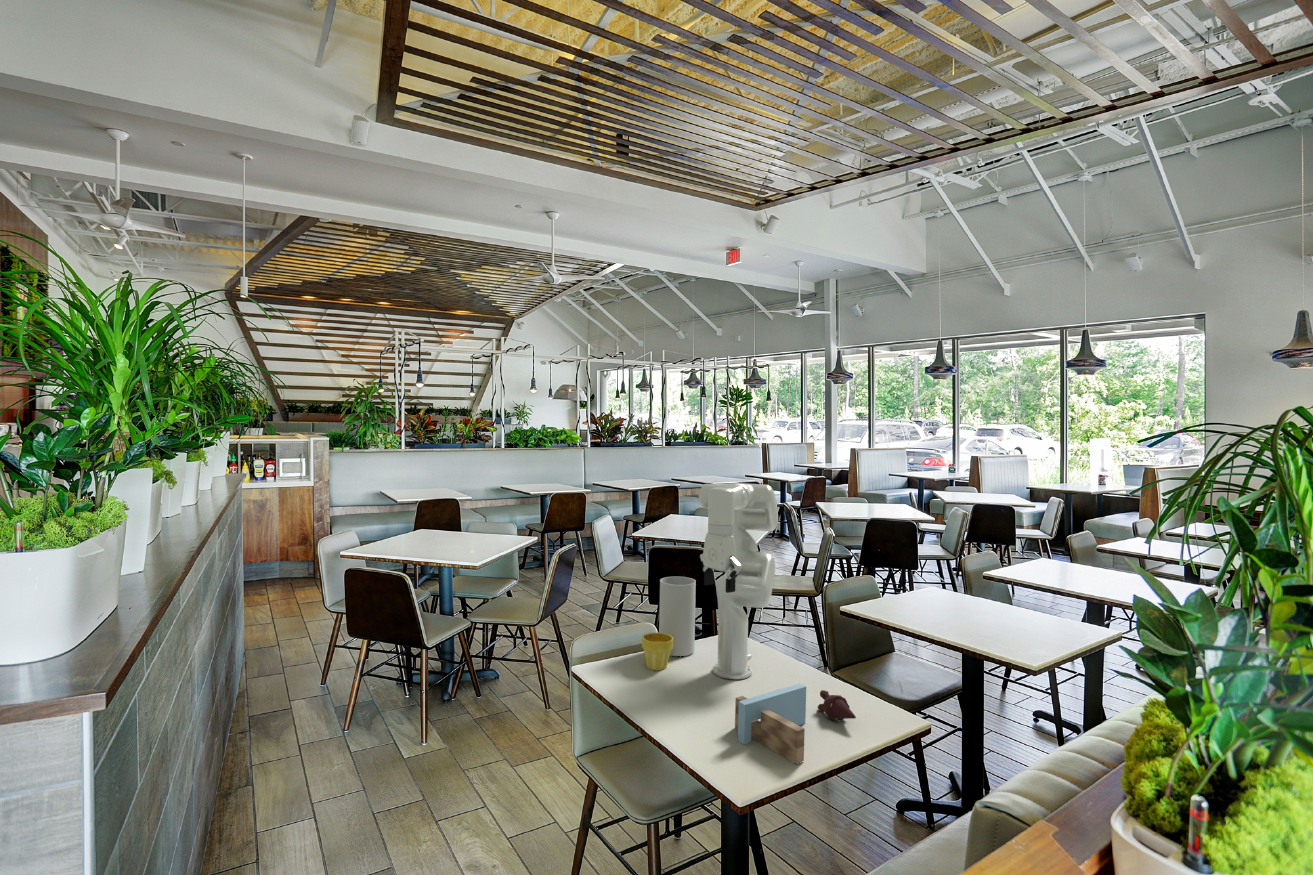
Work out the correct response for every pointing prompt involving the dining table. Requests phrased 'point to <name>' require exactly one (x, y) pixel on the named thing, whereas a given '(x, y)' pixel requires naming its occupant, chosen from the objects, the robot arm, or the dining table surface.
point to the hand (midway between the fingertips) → (719, 588)
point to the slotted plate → (772, 708)
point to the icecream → (835, 707)
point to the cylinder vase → (678, 613)
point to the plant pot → (657, 649)
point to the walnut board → (776, 734)
